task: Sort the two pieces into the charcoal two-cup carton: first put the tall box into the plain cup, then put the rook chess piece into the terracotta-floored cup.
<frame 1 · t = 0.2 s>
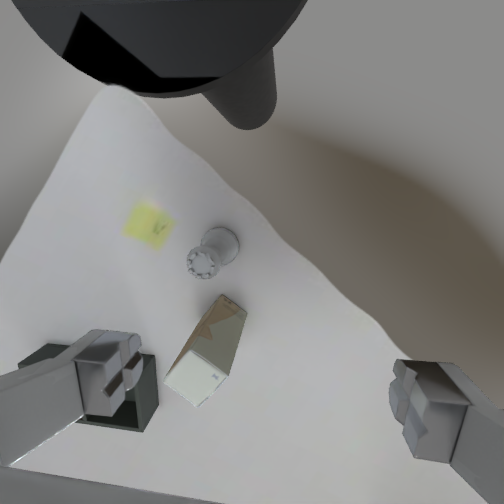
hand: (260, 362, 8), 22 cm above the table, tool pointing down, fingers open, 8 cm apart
carton: (103, 374, 38), on the table
rook chess piece: (221, 244, 31), on the table
box: (223, 316, 34), on the table
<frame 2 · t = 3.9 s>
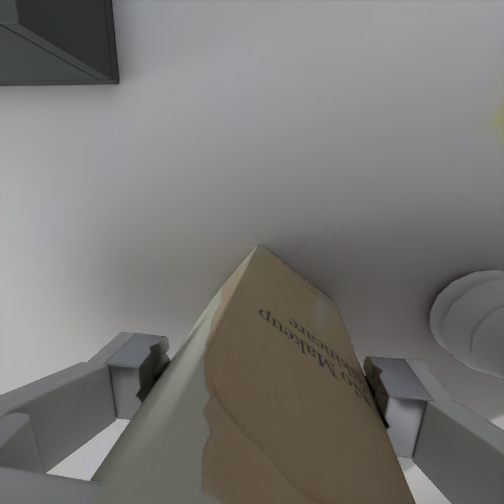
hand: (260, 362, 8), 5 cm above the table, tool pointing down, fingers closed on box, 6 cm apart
rook chess piece: (471, 309, 12), on the table
box: (269, 299, 13), on the table, touching gripper
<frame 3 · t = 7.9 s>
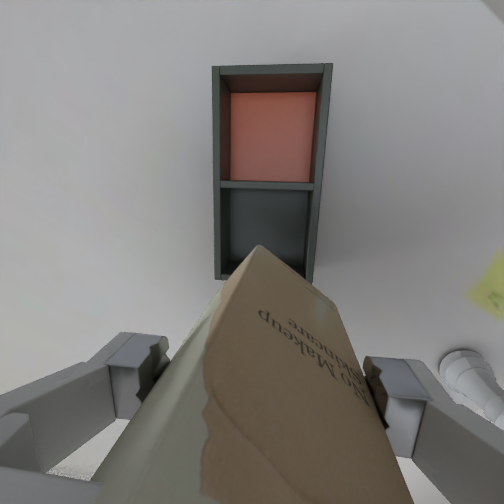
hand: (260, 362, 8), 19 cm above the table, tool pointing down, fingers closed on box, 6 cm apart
carton: (269, 185, 25), on the table
rook chess piece: (458, 364, 28), on the table
box: (269, 300, 13), point 14 cm above the table, touching gripper
when the fingers open (5 cm above the table, at t = 12.0 s): box stays where it is, resting on carton.
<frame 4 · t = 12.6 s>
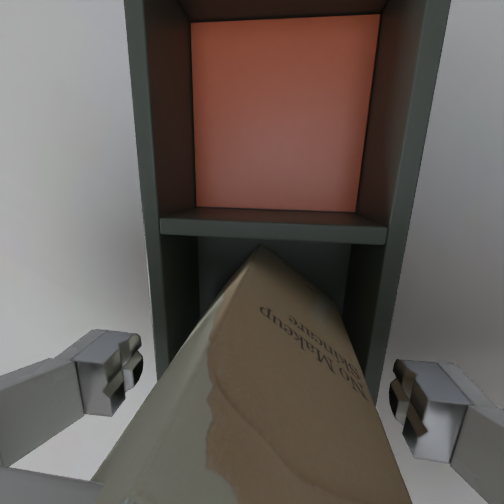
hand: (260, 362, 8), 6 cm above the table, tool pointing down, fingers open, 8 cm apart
carton: (273, 214, 13), on the table
box: (270, 298, 14), resting on carton
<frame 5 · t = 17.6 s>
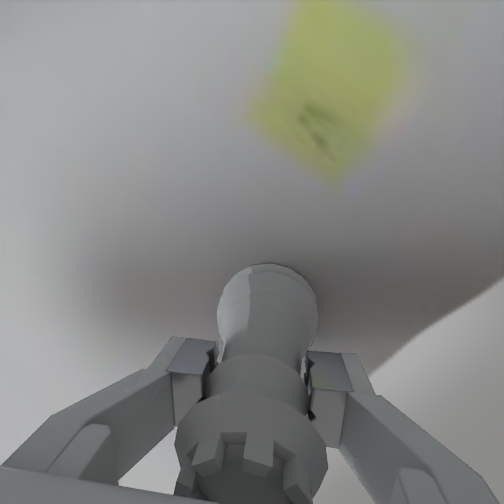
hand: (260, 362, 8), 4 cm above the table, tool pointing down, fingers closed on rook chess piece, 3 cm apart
rook chess piece: (268, 303, 12), on the table, touching gripper
when the fingers open (5 cm above the table, at t = 26.4 s): rook chess piece stays where it is, resting on carton.
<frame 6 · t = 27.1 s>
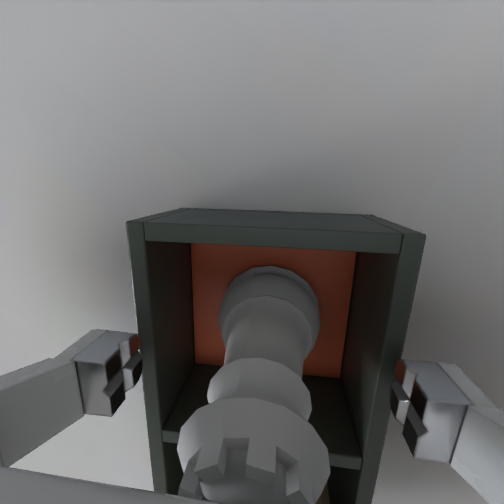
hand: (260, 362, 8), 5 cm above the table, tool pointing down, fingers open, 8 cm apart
carton: (266, 367, 14), on the table
rook chess piece: (270, 305, 12), point 1 cm above the table, touching carton
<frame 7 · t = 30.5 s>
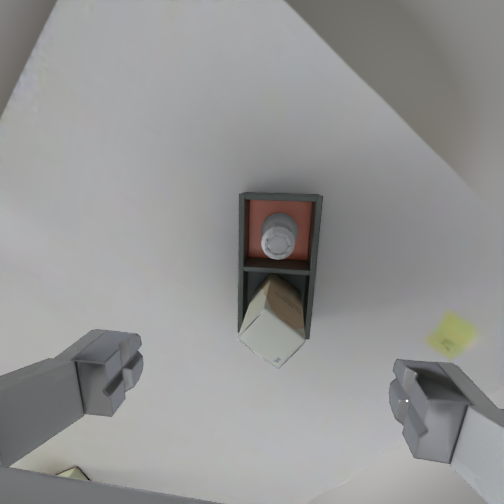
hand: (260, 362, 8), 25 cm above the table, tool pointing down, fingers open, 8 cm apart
gift box: (69, 495, 52), on the table
carton: (277, 259, 33), on the table
rook chess piece: (279, 230, 32), point 1 cm above the table, touching carton
box: (276, 291, 34), resting on carton
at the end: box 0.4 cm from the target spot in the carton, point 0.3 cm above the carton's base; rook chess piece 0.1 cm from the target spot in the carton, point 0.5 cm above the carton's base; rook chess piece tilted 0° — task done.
